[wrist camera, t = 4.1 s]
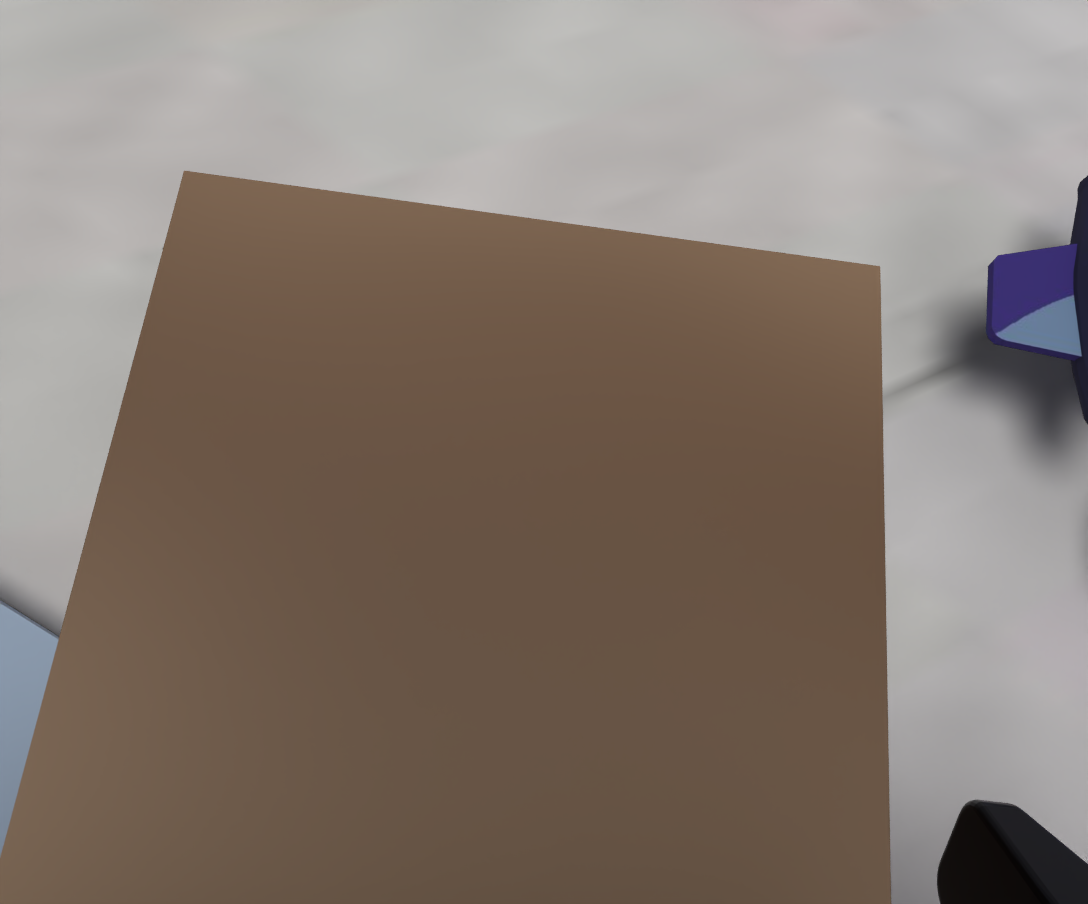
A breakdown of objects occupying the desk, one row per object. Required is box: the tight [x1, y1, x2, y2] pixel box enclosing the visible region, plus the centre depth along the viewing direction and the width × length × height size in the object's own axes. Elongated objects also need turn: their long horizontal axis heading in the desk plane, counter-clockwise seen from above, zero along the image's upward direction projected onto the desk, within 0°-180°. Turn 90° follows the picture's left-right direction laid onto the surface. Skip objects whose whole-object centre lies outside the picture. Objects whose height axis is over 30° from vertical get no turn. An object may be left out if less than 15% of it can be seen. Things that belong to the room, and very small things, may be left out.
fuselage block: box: [0, 171, 891, 904], centre depth 12 cm, size 5×5×12 cm
